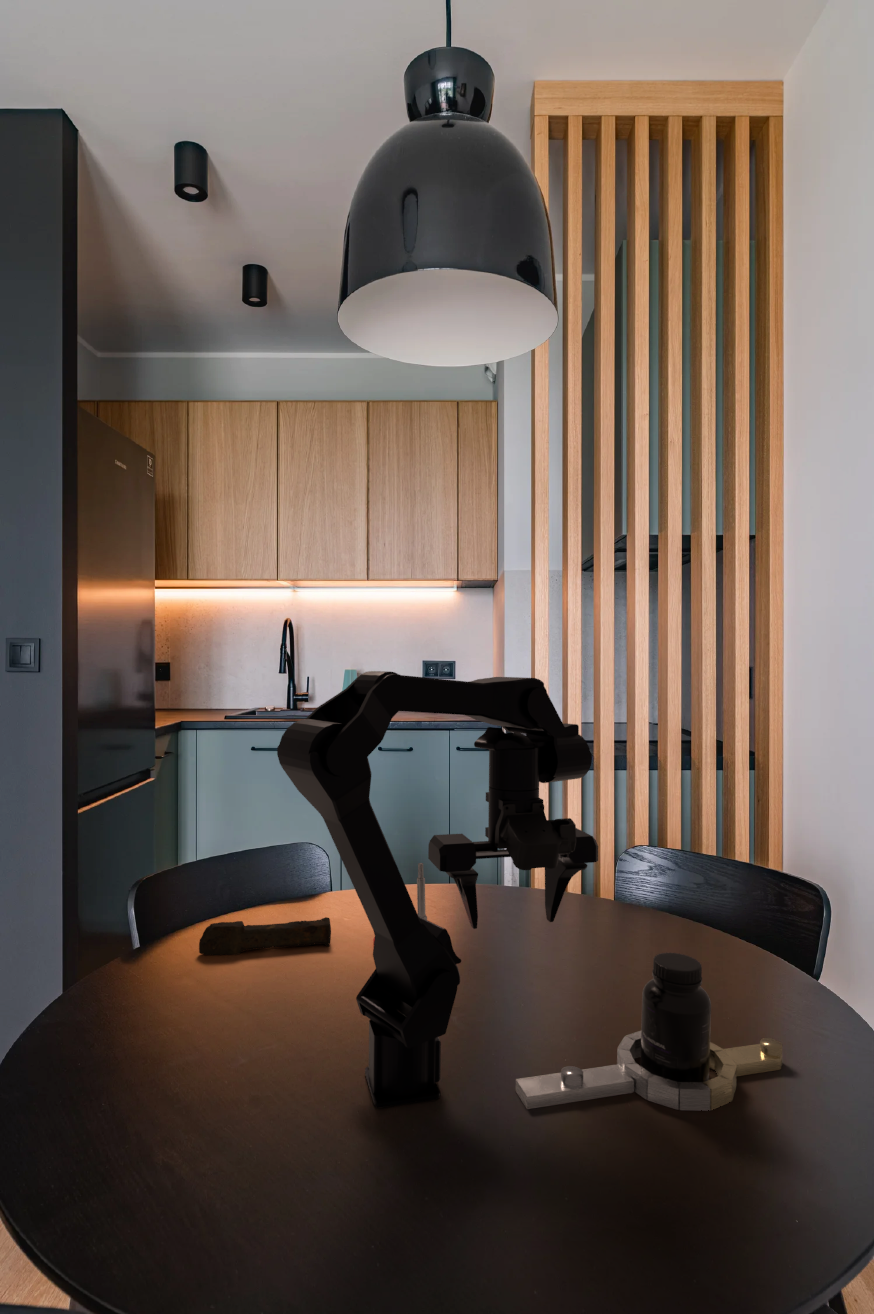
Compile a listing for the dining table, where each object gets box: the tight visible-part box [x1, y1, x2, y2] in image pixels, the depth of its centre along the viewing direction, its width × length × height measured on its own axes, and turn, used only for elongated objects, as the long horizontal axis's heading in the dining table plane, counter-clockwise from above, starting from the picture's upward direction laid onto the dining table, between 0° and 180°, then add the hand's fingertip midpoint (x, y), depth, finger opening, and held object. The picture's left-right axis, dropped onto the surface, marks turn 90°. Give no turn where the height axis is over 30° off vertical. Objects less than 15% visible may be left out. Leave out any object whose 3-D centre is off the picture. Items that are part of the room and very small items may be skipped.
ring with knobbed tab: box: [703, 1037, 783, 1111], centre depth 76 cm, size 13×12×2 cm
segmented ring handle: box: [515, 1030, 711, 1112], centre depth 73 cm, size 17×12×2 cm
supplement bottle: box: [640, 952, 712, 1082], centre depth 75 cm, size 7×7×12 cm
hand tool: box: [198, 916, 332, 956], centre depth 107 cm, size 19×4×5 cm, turn 104°
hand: (512, 924), depth 82 cm, fingers open, 9 cm apart
